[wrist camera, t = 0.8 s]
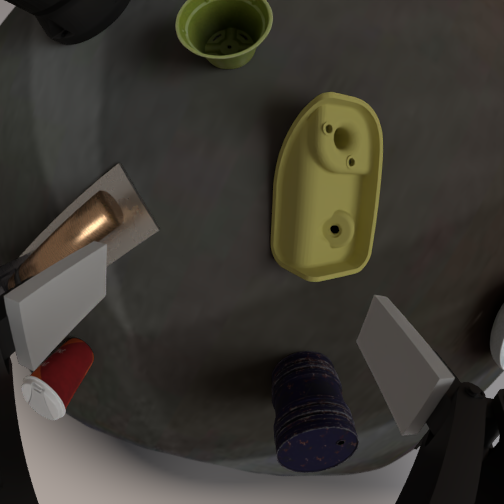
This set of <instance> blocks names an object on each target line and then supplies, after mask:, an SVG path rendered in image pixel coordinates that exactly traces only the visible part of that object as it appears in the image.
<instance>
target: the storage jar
mask: <svg viewBox="0 0 504 504" xmlns="http://www.w3.org/2000/svg"><path fill="white" fill-rule="evenodd" d="M272 403H273V407H274V409H275V412H276V418H275V422H274V439H275V445H276V457H277V461H278V463H279V464H280V465H281V466H283V467H284V468H286V469H288V470H291V471H295V472H304V473H308V472H318V471H323V470H327V469H330V468H333V467H335V466H338V465H340V464H341V463H343V462H345V461H346V460H348V459H349V458H350V457H351V456H352V455H353V454H354V453H355V451H356V450H357V448H358V445H359V440H358V436H357V434H356V430H355V425H354V421H353V418H352V416H351V412H350V409H349V408H348V406H347V405H346V403H345V402H344V400H343V397H342V386H341V383H340V381H339V378H338V375H337V373H336V371H335V370H334V366H333V364H332V362H331V361H330V359H329V358H328V357H326V356H325V355H323V354H321V353H318V352H313V351H302V352H297V353H294V354H291V355H289V356H287V357H285V358H284V359H282V360H281V361H280V362H279V363H278V364H277V365H276V367H275V368H274V370H273V373H272Z"/></svg>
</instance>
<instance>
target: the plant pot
mask: <svg viewBox="0 0 504 504" xmlns="http://www.w3.org/2000/svg"><path fill="white" fill-rule="evenodd" d="M272 20H273V15H272V10H271V8H270V6H269V4H268V2H267V1H266V0H187V1H186V2H185V3H184V5H183V6H182V8H181V9H180V11H179V13H178V15H177V18H176V25H175V26H176V33H177V36H178V38H179V40H180V42H181V43H182V44H183V45H184V46H185V47H186V48H187V49H188V50H189V51H191V52H192V53H194V54H196V55H199V56H201V57H205V58H206V59H207V60H208V61H209V62H210V63H211V64H213V65H214V66H216V67H218V68H221V69H236V68H239V67H241V66H243V65H245V64H246V63H248V62H249V61H250V60H251V58H252V57H253V55H254V53H255V50H256V47H257V46H259V45H260V44H261V43H262V42H263V41H264V39H265V38H266V37H267V35H268V33H269V32H270V29H271V26H272ZM219 34H221V36H220V37H219V38H217V39H216V40H215V41H213V39H214V38H215V37H216V36H217V35H219ZM239 34H243V35H244V36H246V37H247V39H248V40H245V39H244V38H243V37H242V36H241V35H239ZM229 45H230V46H231V47H232V48H230V49H228V48H227V47H228V46H229Z"/></svg>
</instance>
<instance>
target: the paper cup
mask: <svg viewBox="0 0 504 504" xmlns="http://www.w3.org/2000/svg"><path fill="white" fill-rule="evenodd" d="M93 361H94V355H93V352H92V350H91V348H90V347H89V346H88V345H87V344H86V343H85V342H84V341H82V340H80V339H78V338H72V339H70V340H68V341H67V342H66V343H65V344H64V345H62V346H61V347H60V348H59V349H58V350H57V351H56V352H55V353H53V354H52V355H51V356H50V357H49V358H48V359H47V360H46V361H45V362H44V363H43V364H41V365H40V366H39V367H38V368H37V369H36V370H35V371H34V372H33V373H32V374H31V375H30V376H26V377H25V378H24V379H23V384H22V387H21V388H22V389H21V391H22V394H23V396H24V398H25V400H26V402H27V403H28V404H29V405H30V406H31V407H32V409H33V410H35V411H36V412H37V413H38V414H40V415H41V416H43V417H45V418H47V419H49V420H57V419H58V418H60V417H63V416H64V415H65V412H66V410H65V409H66V407H67V405H68V404H69V402H70V400H71V399H72V397H73V395H74V393H75V392H76V390H77V388H78V387H79V385H80V383H81V382H82V380H83V378H84V377H85V375H86V373H87V372H88V370H89V368H90V367H91V365H92V363H93Z"/></svg>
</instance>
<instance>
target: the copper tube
mask: <svg viewBox="0 0 504 504" xmlns="http://www.w3.org/2000/svg"><path fill="white" fill-rule="evenodd" d="M123 220H124V218H123V213H122V210H121V208H120V206H119V204H118V203H117V201H116V200H115V199H114V198H113V197H112V196H111V195H110V194H109V193H108V192H106V191H103V190H100V191H98V192H97V193H96V194H94V195H93V196H92V197H91V198H90V199H89V200H88V201H86V202H85V203H84V204H83V205H82V206H81V207H80V208H78V209H77V210H76V211H75V212H74V213H73V214H72V215H71V216H70V217H69V218H67V219H66V220H65V221H64V222H63V223H62V224H61V225H60V226H59V227H58V228H57V229H56V230H55V231H54V232H53V233H52V234H51V235H50V236H49V237H48V238H47V239H46V240H45V241H44V242H43V243H42V244H41V245H40V246H39V247H38V248H37V249H36V250H35V251H34V252H33V253H32V254H31V255H30V256H29V257H28V258H27V259H26V260H25V261H24V263H22V264H21V265H20V266H19V267H18V268H17V269H16V271H15V273H14V274H13V275H12V276H11V277H10V278H9V281H8V289H11V288H12V287H13V288H14V286H15V285H17V284H20V282H22V281H23V280H25V279H27V278H28V277H31V276H35V275H37V274H39V273H40V272H42V271H44V270H45V269H47V268H48V267H50V266H52V265H53V264H55V263H57V262H58V261H60V260H62V259H64V258H65V257H67V256H69V255H70V254H72V253H74V252H76V251H77V250H79V249H81V248H83V247H84V246H86V245H88V244H90V243H92V242H93V241H96V242H99V241H100V240H102V239H103V238H104V237H106V236H107V235H108V234H109V233H111V232H112V231H113V230H115V229H116V228H117V227H119V226H120V225H121V224H122V223H123Z"/></svg>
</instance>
